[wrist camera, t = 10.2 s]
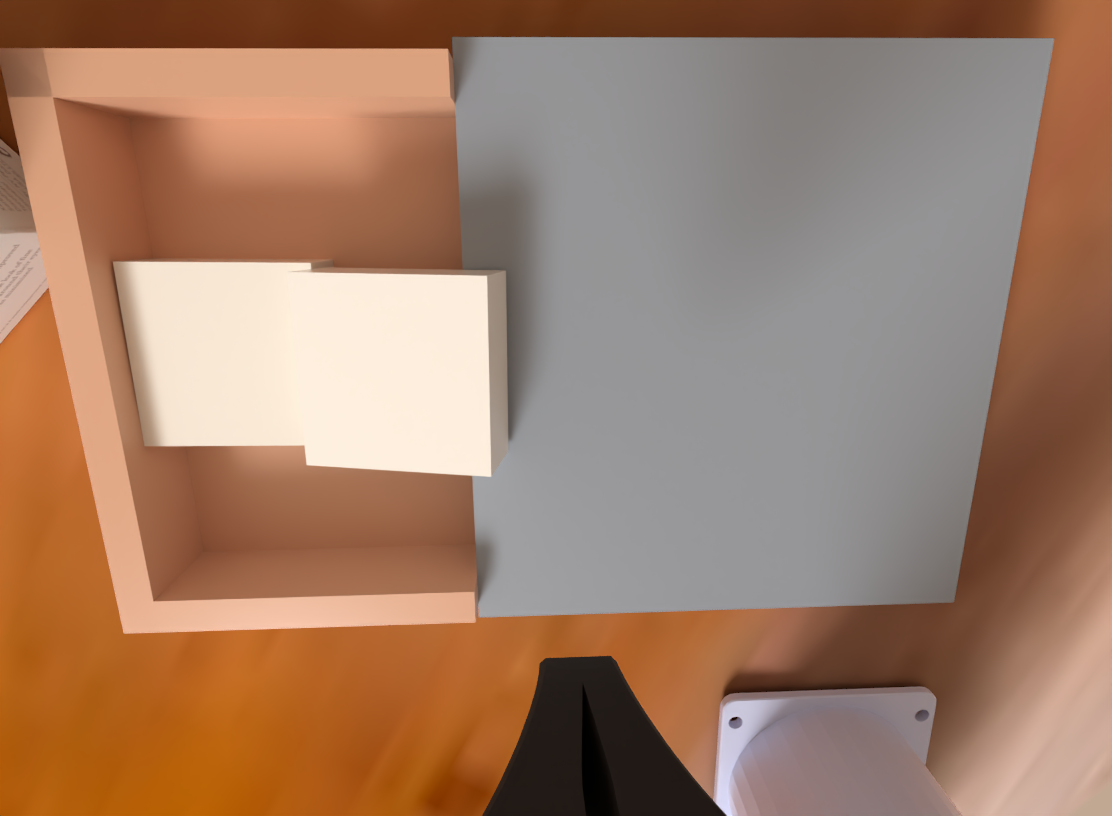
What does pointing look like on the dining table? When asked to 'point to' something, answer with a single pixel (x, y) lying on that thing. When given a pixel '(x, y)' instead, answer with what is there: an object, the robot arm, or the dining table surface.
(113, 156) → the tray
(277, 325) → the tile
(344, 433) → the tile
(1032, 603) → the dining table surface
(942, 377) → the board
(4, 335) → the small box
